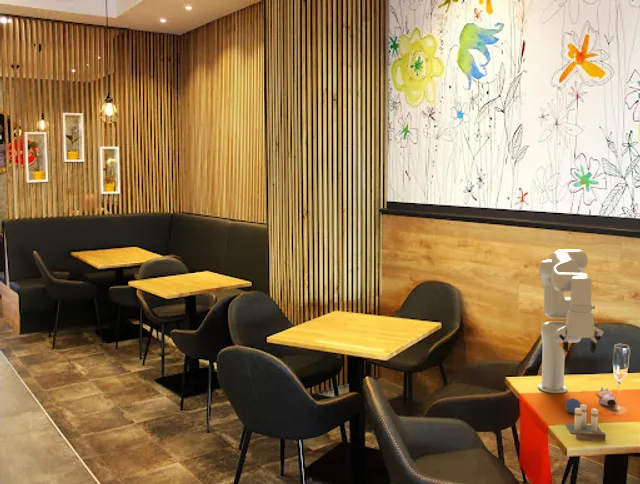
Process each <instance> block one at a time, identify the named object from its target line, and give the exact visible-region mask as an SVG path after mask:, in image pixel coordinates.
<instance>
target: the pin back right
mask: <svg viewBox="0 0 640 484" xmlns="http://www.w3.org/2000/svg"><path fill="white" fill-rule="evenodd" d="M581 416H582V409H580V408H575V413H574V423H573V424H574V431H575V432H576V431H581Z"/></svg>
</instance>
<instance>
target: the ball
mask: <svg viewBox="0 0 640 484" xmlns="http://www.w3.org/2000/svg"><path fill="white" fill-rule="evenodd" d="M580 405H581V402H580V401H579V400H578V399H576V398H569V399H567V400H566V402H565V405H564V406H565V409H566V411H567V412H569V413H570V414H575V408H580Z"/></svg>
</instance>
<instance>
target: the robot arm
mask: <svg viewBox="0 0 640 484" xmlns="http://www.w3.org/2000/svg"><path fill="white" fill-rule="evenodd" d="M588 261H589V260H588V256H587V253H586V252H585V251H584V250H582V249H557V250H556V251H554V252H553V253H552V254H551V256H550V259H546V260H544V259H543V260H542V261H541V262H540V263H539V265H538V271H539V272H538V273H539V277H540V280H541V282H542V286H543V311H544V314H545V316H546V317H547V318H550V319H565V321H563V320H560V321H557V320H549V321H545V322H543V323H542V324H541V326H540V333H541V342H542V343H541V344H542V356H541V358H542V359H541V361H542V362H541V382H540V383H538V385H537V388H538V389H539V391H542V392H545V393H550V394H563V393H566V392H567V391H568V387H567V386H566V385H565V384H564V383H565V382H564V381H565V353H568V352H569V343H571V344H572V343H575V344H577V343H579V342H580V341H582V339H591V340H590V346H589V351H590V352H591V353H592V354H595V351H596V349H597V347H596V346H597V345H596V344H597V343H598V341H599V340H600V339H601V338H602V336H603V334H605V332H604V331H603V330H602V329H599V328H598V327H596V326H595V319H594V313H593V310H595V309H596V306H595V305H593V304H592V293H593V288H592V287H593V280H592V278H591V276H590V275H589V274H588V273H585V272H584V271H585V270H586V268H587V266H588ZM565 292H567V293H570V297H565V295H564V293H565ZM595 332H597V335H596V336H595ZM560 344H563V345H562V346H561V345H560Z"/></svg>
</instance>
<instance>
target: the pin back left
mask: <svg viewBox="0 0 640 484" xmlns="http://www.w3.org/2000/svg"><path fill="white" fill-rule="evenodd" d="M590 410H591V411H590V425H591V432H597V428H598V427H599V426H598V424H599V409H597V408H591V409H590Z"/></svg>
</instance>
